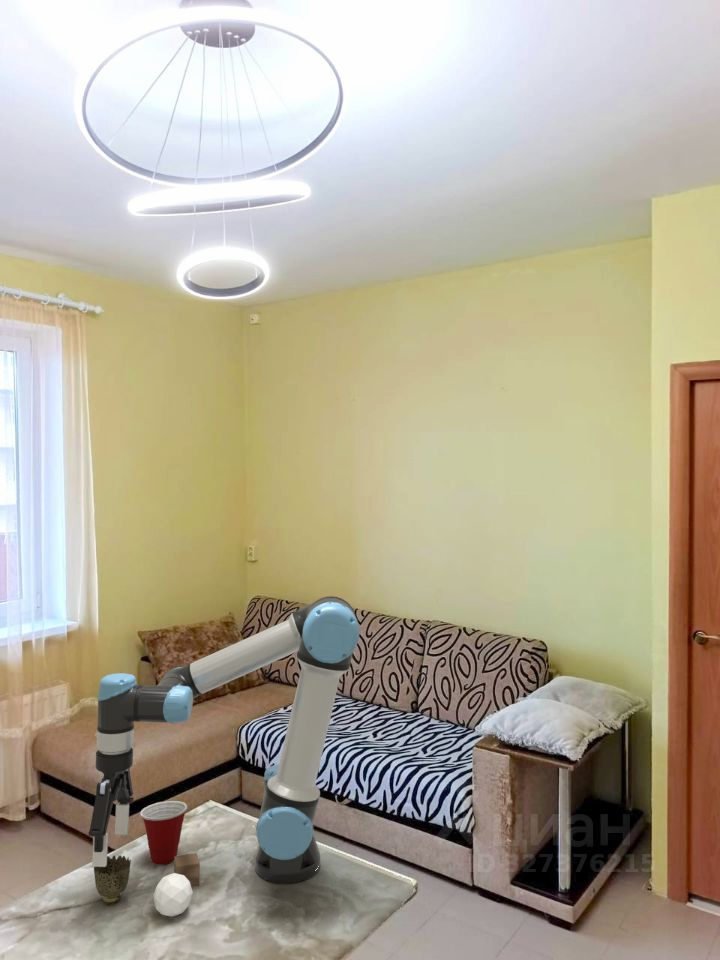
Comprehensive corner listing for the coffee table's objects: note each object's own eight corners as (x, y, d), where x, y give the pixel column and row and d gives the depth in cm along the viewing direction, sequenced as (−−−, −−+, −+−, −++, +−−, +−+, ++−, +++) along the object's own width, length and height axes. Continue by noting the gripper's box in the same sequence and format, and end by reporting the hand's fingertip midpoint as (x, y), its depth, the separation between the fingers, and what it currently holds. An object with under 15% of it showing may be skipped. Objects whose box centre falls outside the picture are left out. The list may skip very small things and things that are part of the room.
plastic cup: (166, 843, 178) (167, 794, 178) (195, 856, 171) (196, 805, 171) (129, 860, 169) (130, 809, 169) (159, 875, 162) (160, 822, 163)
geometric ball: (178, 920, 150) (200, 882, 153) (176, 928, 143) (198, 887, 146) (148, 901, 150) (170, 863, 154) (143, 908, 143) (167, 868, 146)
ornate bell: (118, 913, 148) (119, 874, 148) (85, 908, 149) (86, 870, 149) (136, 893, 155) (137, 856, 155) (105, 889, 156) (106, 852, 157)
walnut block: (196, 874, 163) (196, 852, 163) (199, 886, 159) (199, 863, 159) (173, 878, 162) (174, 856, 162) (176, 890, 157) (176, 866, 157)
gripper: (116, 729, 165) (113, 822, 165) (74, 770, 140) (69, 880, 140) (149, 730, 165) (145, 823, 165) (112, 771, 140) (108, 881, 140)
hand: (110, 849), depth 152 cm, fingers open, 13 cm apart
